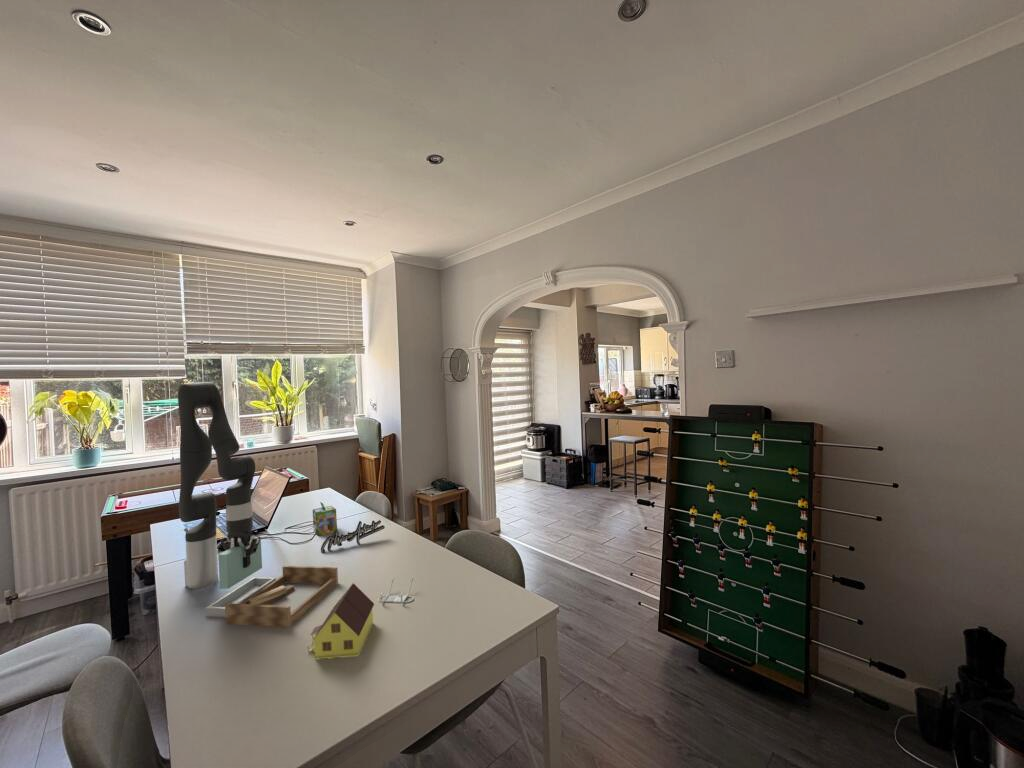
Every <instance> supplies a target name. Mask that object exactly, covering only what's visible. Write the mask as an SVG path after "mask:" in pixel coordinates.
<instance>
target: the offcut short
mask: <svg viewBox="0 0 1024 768" xmlns="http://www.w3.org/2000/svg"><path fill="white" fill-rule="evenodd" d="M284 593H287V587H286V586H285V585H281V586H280V587H278V588H275V589H273V590H270V591H268V592H266V593H263V594H261V595H258V596H256V597H254V598H251V599H249V600H248V604H256V605H259V604H261V603H263V602H266V601H268V600H270V599H273V598H275V597H277V596H280V595H282V594H284Z"/></svg>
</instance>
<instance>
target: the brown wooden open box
mask: <svg viewBox="0 0 1024 768" xmlns="http://www.w3.org/2000/svg"><path fill="white" fill-rule="evenodd" d="M338 570H339V569H338V567H337V566H313V565H311V566H310V565H309V566H306V565H305V566H304V565H284V566H282V575H281V576H279V577H278V578H276V580H275V581H273V582H272V583H271V584H269V585H268V586H266V587H265V588H263V589H262V590H261V591H259V592H258V593H256V594H255V595H253V596H252V597H250V598H249V599H251V598H254V597H256V596H258V595H261V594H263V593H266V592H268V591H270V590H273V589H275V588H278V587H280V586H284V585H285V584H286V583H285V582H287V583H290V584H316V585H318V584H319V585H322V586H321V587H319V588H318V589H317V590H316V591H314V593H313V594H311V595H310V596H309V597H308V598H306V599H305V600H304V601H303V602H302V603H301V604H300V605H298V606H297V607H296V608H295V609H294V610H292V611H291V605H280V604H279V605H275V604H269V605H256V604H248V600H249V599H248V600H246V601H245V602H243V603H242V604H232V603H227V604H226V605H225V616H226V617H225V625H240V626H241V625H242V626H243V625H244V626H260V627H262V626H263V627H280V628H290V627H291V625H293V624H294V623H295V622H296V621H297V620H299V618H301V617H302V616H303V615H304V614H305V613H306V612H308V611H309V610H310V609H311V608H312V607H313V606H314V605H315V604H316V603H318V602H319V601H320V600H321V599H322V598H323V597H324V596H326V594H328V593H329V592H330V591H332V589H333V588H335V586H337V584H338V583H339V575H338V574H339V573H338ZM318 600H319V601H318ZM311 606H312V607H311ZM310 607H311V608H310ZM309 608H310V609H309ZM308 609H309V610H308ZM303 613H304V614H303ZM289 626H290V627H289Z"/></svg>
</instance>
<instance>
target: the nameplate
mask: <svg viewBox="0 0 1024 768" xmlns="http://www.w3.org/2000/svg"><path fill="white" fill-rule="evenodd" d="M381 522H382V521H381V519H379V520H378V521H375V520H372V521H371V524H366V523H365V522H364V523H363V525H362V521H361V520H359V522H358V523H357V526H356V528H355V530H354V531H351V532H350V531H349V532H347V533H346V534H343V533H342V534H341V535H339V531H338V529H337V530H336V531H335V532H334V533H332V535H328V536H327V537H326V539H325V540H324V541H323V542H322V545H321V547H320V552H321V553H325V552H326V549H327V551H329V552H330V551H331V548H332V547H333V546H337V547H342V545H343V543H342V542H345V541H346V542H349V543H350V542H352V541H354V539H356V540H355V541H356V544H357V545H358V546H359V545H360V544H361V543H360V540H361V539H364V538H366V537H368V536H371V535H373V534H375V533H377V532H380V531H382V530H384V529H385V525H384V524H381ZM380 524H381V525H380ZM379 525H380V526H379ZM326 546H327V548H326Z"/></svg>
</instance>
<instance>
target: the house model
mask: <svg viewBox="0 0 1024 768" xmlns="http://www.w3.org/2000/svg"><path fill="white" fill-rule="evenodd" d="M374 606H375V603H374V602H373V601H372V600H371V599H370V598H369V597H368V596H367V595H366V594H365V593H364V592H363V591H362V590H361V589H360V588H359V587H358V586H357V585H356V584H355V583H354V582H353V583H352V584H351V585H350V587H348V589H347V590H346V591H345V593H343V595H342V596H341V597H340V599H339V600H338V601H337V602H336V604H334V607H332V609H331V610H330V612H329V614H328V615H327V616H326V618H325V620H324V622H322V624H320V625H318V626H315V627H314V629H312V631H311V633H310V635H309V636H310V637H311V644H310V645H308V646H307V652H308V653H310V652H312V653H314V658H315V659H316V660H319V659H318V658H328V659H334V658H333V657H341V658H352V657H359V656H360V654H361V652H362V649H363V647H364V645H365V642H366V640H367V638H368V635H369V634H370V631H371V628H372V626H373V624H374V622H373V621H374V619H373V618H374V617H373V608H374ZM309 650H310V652H309Z"/></svg>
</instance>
